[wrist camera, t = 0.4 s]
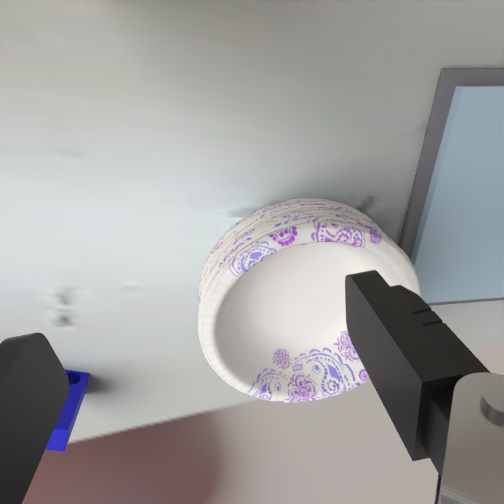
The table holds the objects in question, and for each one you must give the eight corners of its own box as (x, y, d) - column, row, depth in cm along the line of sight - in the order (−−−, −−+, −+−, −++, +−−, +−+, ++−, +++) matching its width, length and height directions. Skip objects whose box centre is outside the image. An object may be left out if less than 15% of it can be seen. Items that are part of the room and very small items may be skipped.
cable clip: (-54, 384, 33) (-102, 447, 27) (-56, 350, 31) (-109, 411, 25) (83, 401, 36) (62, 461, 31) (89, 371, 34) (68, 430, 29)
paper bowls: (327, 140, 25) (373, 175, 18) (400, 280, 32) (453, 342, 25) (160, 251, 28) (145, 317, 21) (261, 356, 35) (275, 431, 28)
